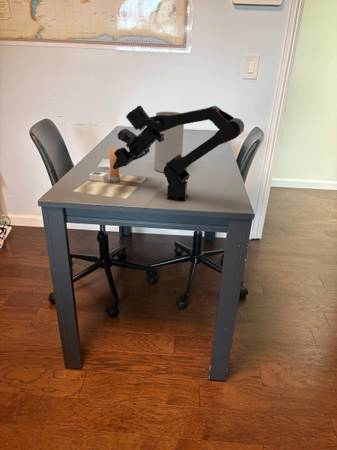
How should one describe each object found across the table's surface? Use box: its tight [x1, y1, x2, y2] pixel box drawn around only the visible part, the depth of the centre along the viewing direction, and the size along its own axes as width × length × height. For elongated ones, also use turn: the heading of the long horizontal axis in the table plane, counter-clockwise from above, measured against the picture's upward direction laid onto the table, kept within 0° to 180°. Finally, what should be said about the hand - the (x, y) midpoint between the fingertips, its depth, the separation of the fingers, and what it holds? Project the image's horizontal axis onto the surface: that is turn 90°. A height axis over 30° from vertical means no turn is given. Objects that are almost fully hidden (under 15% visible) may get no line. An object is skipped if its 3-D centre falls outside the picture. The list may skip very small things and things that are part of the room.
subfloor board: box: [73, 171, 147, 200], centre depth 133 cm, size 21×24×2 cm
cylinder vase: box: [154, 111, 185, 174], centre depth 152 cm, size 12×12×25 cm
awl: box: [108, 148, 121, 183], centre depth 132 cm, size 4×4×13 cm
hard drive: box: [97, 158, 110, 170], centre depth 160 cm, size 2×8×12 cm
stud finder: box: [88, 171, 108, 182], centre depth 136 cm, size 6×4×2 cm, turn 76°
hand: (119, 165), depth 131 cm, fingers open, 9 cm apart
